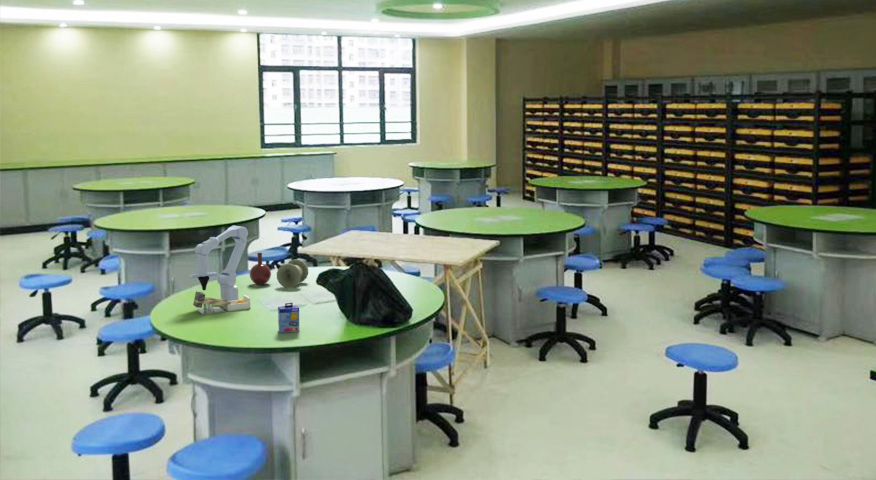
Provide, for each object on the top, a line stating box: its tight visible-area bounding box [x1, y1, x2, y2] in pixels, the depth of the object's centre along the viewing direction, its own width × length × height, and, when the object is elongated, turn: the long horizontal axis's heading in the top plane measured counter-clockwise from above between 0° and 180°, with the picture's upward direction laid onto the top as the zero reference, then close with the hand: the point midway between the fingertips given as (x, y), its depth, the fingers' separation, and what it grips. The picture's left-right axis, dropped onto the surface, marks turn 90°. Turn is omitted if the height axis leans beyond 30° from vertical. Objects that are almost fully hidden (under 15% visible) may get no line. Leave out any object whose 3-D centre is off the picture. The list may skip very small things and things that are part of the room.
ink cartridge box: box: [277, 302, 300, 334], centre depth 371 cm, size 10×6×14 cm, turn 112°
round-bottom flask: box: [249, 252, 272, 286], centre depth 478 cm, size 13×13×20 cm
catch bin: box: [222, 294, 251, 312], centre depth 417 cm, size 12×10×6 cm
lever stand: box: [196, 303, 226, 316], centre depth 410 cm, size 12×12×6 cm
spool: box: [276, 259, 309, 289], centre depth 476 cm, size 16×15×15 cm
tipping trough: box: [192, 291, 231, 309], centre depth 412 cm, size 18×12×7 cm, turn 121°
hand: (204, 289), depth 420 cm, fingers closed
